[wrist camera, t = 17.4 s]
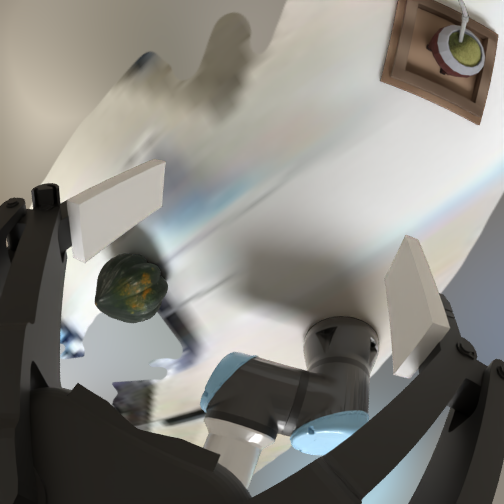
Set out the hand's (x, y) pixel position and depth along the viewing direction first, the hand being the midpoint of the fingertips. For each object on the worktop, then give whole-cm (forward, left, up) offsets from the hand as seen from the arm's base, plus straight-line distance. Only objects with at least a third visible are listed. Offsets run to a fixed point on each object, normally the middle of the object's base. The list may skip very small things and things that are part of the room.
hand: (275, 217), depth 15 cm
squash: (-36, +28, -31) cm, 55 cm away
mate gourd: (+19, -14, -30) cm, 38 cm away
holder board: (+19, -14, -31) cm, 39 cm away
